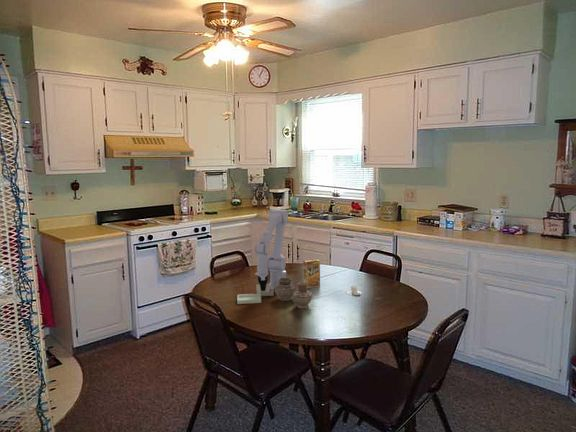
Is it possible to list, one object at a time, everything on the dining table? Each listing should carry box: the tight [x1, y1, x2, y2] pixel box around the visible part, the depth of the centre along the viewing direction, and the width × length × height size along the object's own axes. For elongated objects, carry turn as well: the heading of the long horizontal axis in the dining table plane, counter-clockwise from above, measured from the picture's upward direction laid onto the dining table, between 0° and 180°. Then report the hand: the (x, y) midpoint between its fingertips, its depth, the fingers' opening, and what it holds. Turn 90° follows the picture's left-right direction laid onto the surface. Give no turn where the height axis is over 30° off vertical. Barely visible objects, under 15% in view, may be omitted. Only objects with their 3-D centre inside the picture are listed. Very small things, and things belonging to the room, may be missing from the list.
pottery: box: [274, 277, 313, 309], centre depth 217 cm, size 11×25×12 cm, turn 38°
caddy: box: [254, 279, 270, 294], centre depth 231 cm, size 8×4×7 cm, turn 95°
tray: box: [236, 293, 262, 305], centre depth 222 cm, size 12×9×2 cm
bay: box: [256, 285, 275, 297], centre depth 231 cm, size 9×7×4 cm
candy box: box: [302, 258, 321, 289], centre depth 242 cm, size 9×4×15 cm, turn 113°
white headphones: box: [346, 285, 362, 296], centre depth 231 cm, size 9×8×4 cm
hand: (263, 289), depth 231 cm, fingers closed on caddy, 4 cm apart
